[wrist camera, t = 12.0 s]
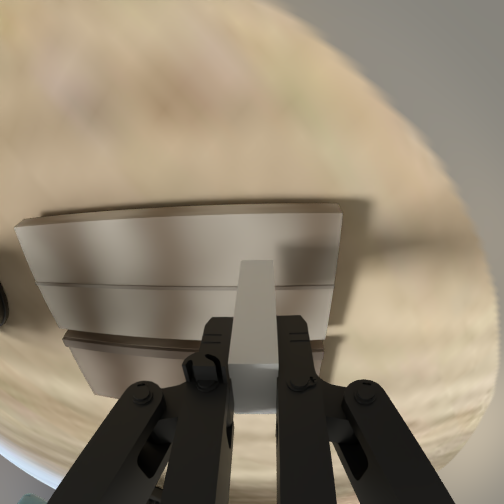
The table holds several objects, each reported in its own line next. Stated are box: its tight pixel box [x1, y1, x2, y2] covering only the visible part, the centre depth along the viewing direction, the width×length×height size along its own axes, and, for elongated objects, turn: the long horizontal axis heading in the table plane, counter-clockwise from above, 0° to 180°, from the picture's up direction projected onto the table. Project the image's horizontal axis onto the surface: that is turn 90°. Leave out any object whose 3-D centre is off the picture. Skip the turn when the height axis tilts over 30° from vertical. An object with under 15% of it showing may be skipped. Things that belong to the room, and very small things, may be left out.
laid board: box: [62, 329, 324, 399], centre depth 23 cm, size 20×8×2 cm, turn 92°
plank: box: [14, 203, 343, 340], centre depth 18 cm, size 20×9×1 cm, turn 92°
